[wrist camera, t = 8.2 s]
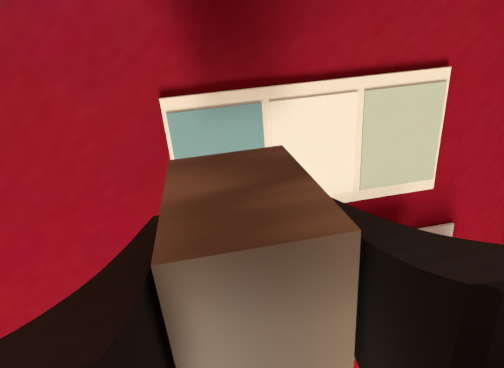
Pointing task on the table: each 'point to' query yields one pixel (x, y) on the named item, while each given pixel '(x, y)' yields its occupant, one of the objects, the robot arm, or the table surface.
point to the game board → (326, 128)
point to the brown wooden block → (255, 264)
